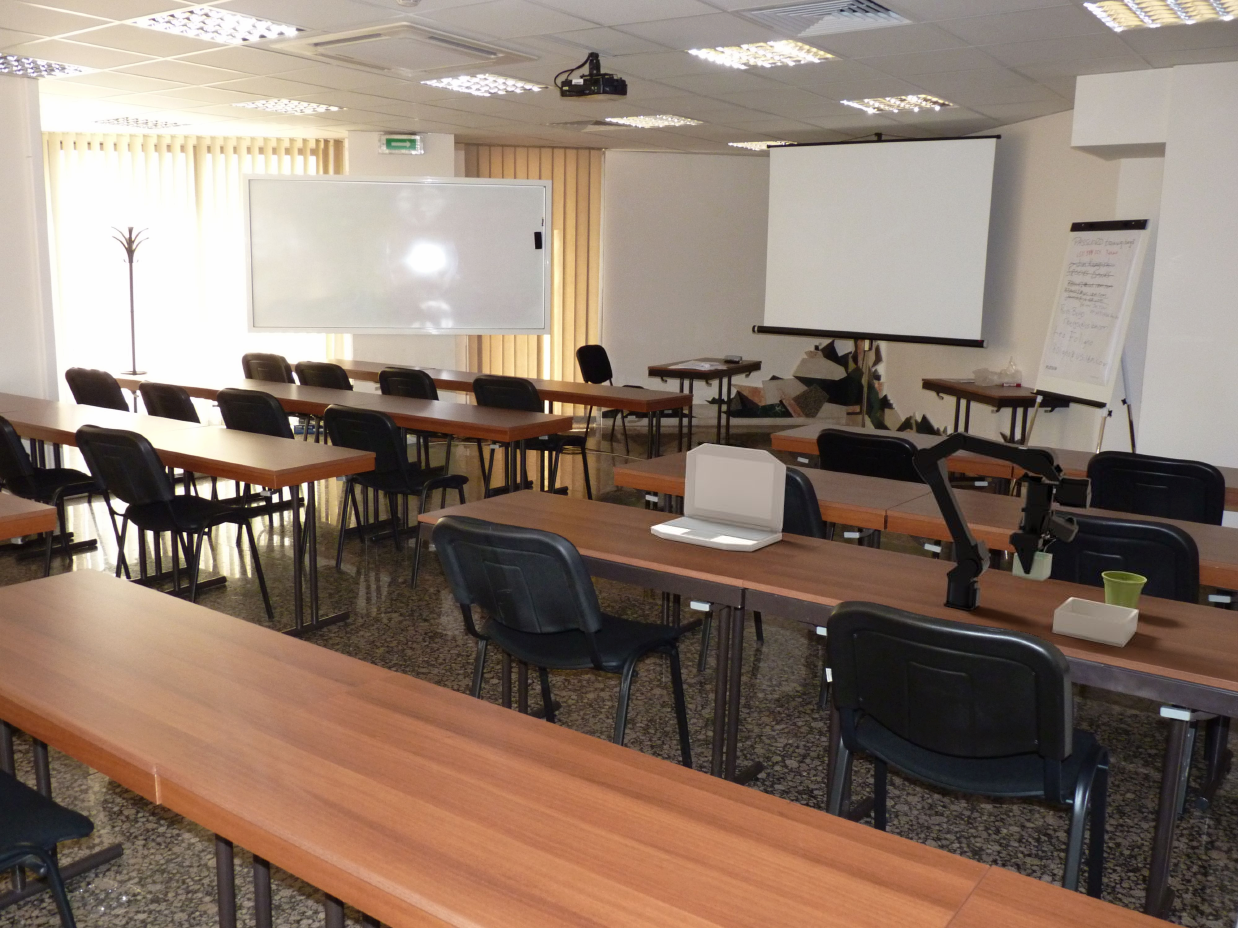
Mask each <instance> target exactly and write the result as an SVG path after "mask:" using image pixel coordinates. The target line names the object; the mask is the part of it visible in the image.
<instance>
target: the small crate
mask: <svg viewBox="0 0 1238 928" xmlns="http://www.w3.org/2000/svg"><path fill="white" fill-rule="evenodd" d="M1052 561H1053V553H1046V552H1044V553H1042V552H1036V554H1035V558H1034V562H1033V565H1032V569H1031V572H1030V574H1029V575H1028V574H1025V573H1024V571H1023V568H1022V566H1021V563H1020V560H1019V558H1018V555H1017V553H1014V554H1013V562H1012V563H1013V564H1012V573H1011V576H1012V577H1018V578H1023V579H1027V580H1033V581H1040V582H1043V581H1045V580H1046V579H1048V578H1049V577H1051V573H1052V572H1051V571H1052Z"/></svg>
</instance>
